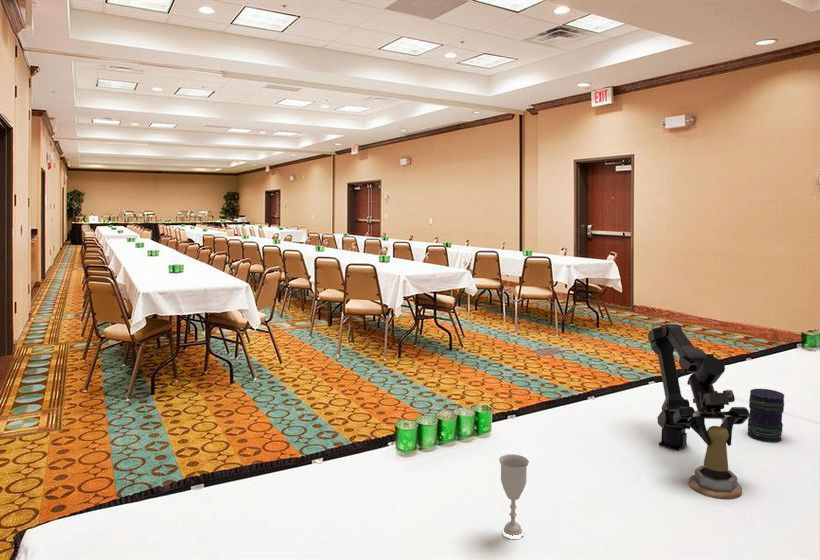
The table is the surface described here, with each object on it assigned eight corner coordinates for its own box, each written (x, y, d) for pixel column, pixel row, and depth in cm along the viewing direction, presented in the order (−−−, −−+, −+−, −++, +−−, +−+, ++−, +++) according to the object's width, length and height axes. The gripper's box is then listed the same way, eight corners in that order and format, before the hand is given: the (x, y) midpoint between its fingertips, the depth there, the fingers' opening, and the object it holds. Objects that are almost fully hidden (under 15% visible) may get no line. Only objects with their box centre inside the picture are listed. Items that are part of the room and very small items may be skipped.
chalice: (495, 526, 144) (495, 454, 142) (522, 524, 145) (523, 453, 143) (502, 543, 137) (503, 468, 135) (531, 541, 138) (532, 466, 135)
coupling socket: (680, 486, 164) (680, 472, 163) (700, 472, 172) (701, 459, 172) (730, 504, 154) (731, 489, 154) (749, 488, 163) (750, 474, 162)
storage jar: (782, 435, 200) (785, 391, 198) (781, 445, 191) (784, 399, 190) (747, 429, 205) (750, 386, 203) (745, 438, 197) (748, 394, 195)
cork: (727, 473, 158) (729, 433, 157) (701, 467, 162) (704, 428, 160) (729, 464, 163) (732, 426, 162) (705, 459, 167) (707, 421, 165)
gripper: (679, 378, 164) (694, 432, 154) (749, 378, 163) (768, 433, 154) (666, 396, 173) (680, 449, 163) (732, 397, 172) (750, 449, 162)
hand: (719, 445), depth 160 cm, fingers closed on cork, 5 cm apart
